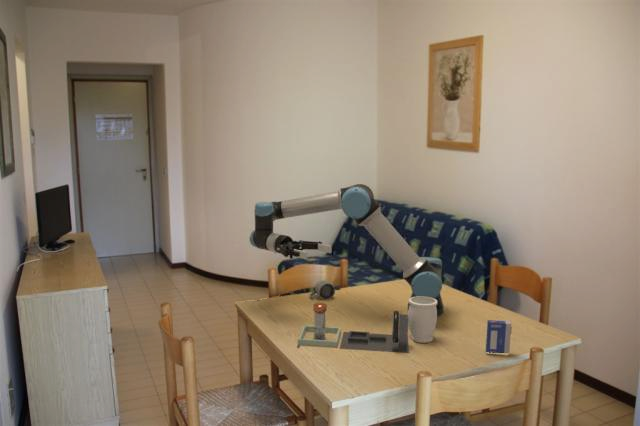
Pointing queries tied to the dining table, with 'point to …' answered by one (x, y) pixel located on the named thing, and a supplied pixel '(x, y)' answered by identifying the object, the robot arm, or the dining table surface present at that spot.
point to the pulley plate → (380, 338)
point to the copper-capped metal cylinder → (319, 320)
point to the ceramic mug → (323, 290)
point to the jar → (422, 318)
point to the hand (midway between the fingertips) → (319, 252)
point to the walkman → (498, 336)
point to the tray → (319, 342)
